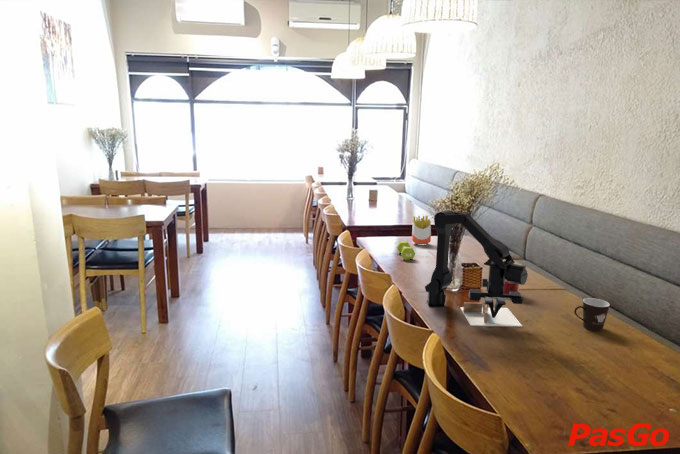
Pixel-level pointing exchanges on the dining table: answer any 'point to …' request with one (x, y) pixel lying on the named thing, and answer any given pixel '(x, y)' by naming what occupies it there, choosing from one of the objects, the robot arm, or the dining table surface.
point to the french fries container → (421, 230)
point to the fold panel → (485, 313)
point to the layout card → (501, 319)
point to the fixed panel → (474, 307)
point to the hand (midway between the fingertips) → (493, 317)
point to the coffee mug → (594, 313)
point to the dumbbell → (406, 250)
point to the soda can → (510, 287)
